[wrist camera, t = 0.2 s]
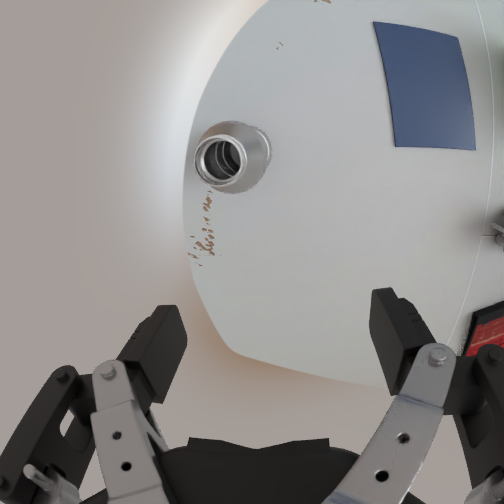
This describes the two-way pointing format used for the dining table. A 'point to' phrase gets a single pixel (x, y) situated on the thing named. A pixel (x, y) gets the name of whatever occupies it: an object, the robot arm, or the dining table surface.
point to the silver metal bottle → (232, 156)
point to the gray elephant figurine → (499, 239)
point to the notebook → (486, 329)
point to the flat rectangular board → (426, 88)
